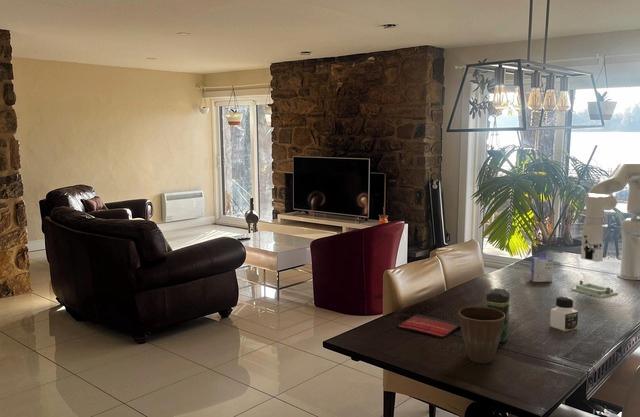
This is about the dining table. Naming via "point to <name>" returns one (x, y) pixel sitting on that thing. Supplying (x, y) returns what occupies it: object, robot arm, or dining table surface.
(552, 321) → the medicine bottle
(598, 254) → the block
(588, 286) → the tray
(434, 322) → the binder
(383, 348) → the dining table surface
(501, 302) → the coffee jar
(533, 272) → the ink cartridge box
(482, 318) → the plant pot
